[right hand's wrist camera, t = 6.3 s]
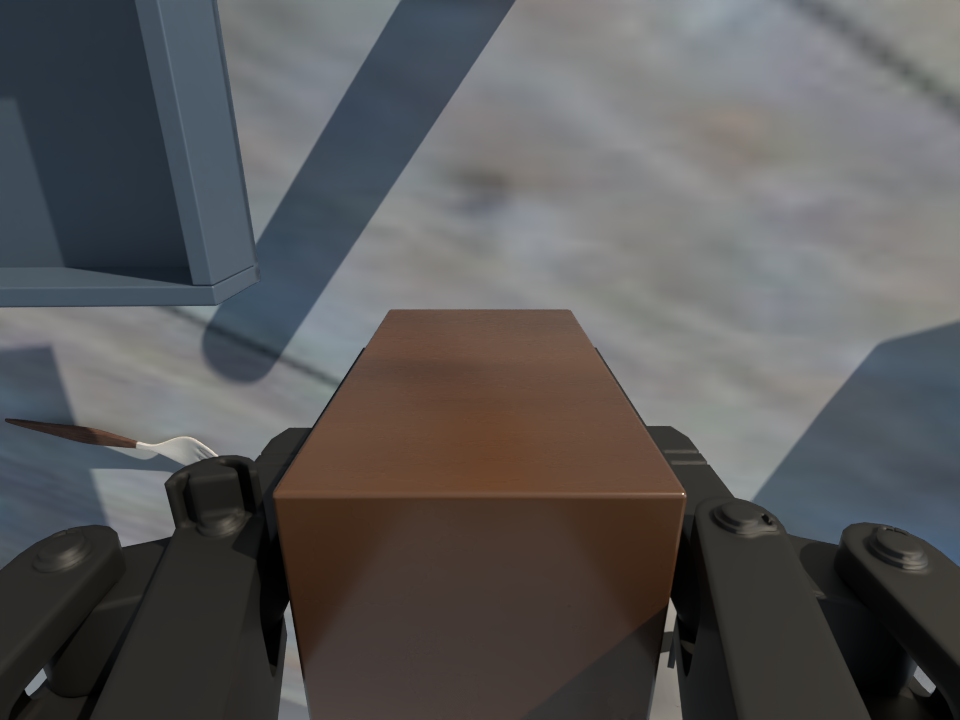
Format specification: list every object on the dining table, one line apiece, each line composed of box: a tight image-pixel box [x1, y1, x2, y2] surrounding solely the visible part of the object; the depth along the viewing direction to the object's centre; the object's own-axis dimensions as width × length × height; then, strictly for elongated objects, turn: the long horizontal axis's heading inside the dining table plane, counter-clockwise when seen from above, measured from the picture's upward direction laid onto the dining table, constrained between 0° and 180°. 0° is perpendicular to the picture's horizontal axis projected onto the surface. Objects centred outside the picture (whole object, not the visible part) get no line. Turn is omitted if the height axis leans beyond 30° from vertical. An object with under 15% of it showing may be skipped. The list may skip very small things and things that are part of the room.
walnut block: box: [272, 310, 687, 720], centre depth 11 cm, size 5×5×8 cm
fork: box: [5, 419, 218, 466], centre depth 36 cm, size 3×16×2 cm, turn 77°
